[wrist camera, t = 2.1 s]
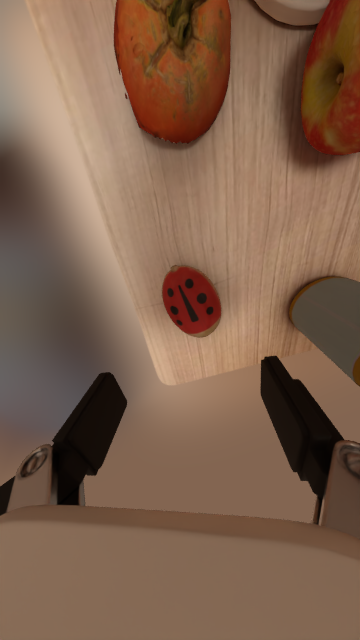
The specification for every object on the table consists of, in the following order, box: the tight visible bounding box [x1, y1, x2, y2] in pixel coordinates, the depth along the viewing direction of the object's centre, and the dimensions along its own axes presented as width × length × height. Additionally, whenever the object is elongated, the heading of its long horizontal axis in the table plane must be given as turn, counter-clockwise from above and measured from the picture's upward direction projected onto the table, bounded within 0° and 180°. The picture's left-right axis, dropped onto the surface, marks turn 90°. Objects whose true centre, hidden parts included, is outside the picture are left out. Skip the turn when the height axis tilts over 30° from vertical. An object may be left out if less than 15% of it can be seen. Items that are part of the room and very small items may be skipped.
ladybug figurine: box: [162, 265, 221, 337], centre depth 19 cm, size 7×10×4 cm
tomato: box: [114, 0, 231, 144], centre depth 11 cm, size 8×7×7 cm
